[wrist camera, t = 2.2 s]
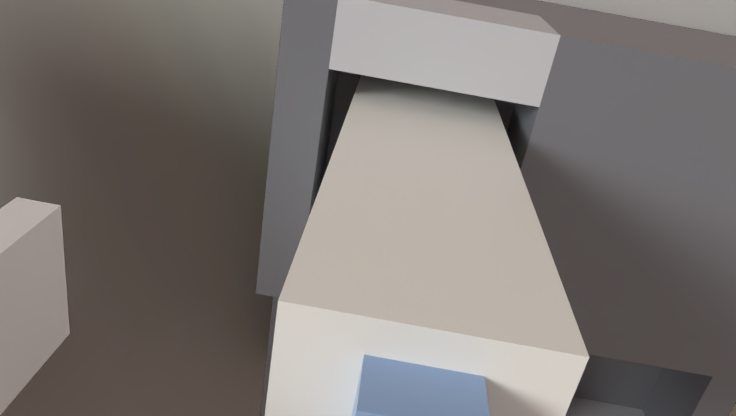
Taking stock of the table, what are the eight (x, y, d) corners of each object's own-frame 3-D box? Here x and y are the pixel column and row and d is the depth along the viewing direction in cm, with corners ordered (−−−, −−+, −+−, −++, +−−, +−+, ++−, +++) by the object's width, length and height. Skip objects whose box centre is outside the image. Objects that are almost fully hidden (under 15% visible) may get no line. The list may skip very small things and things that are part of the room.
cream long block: (343, 191, 20) (235, 572, 9) (362, 72, 19) (259, 351, 7) (462, 212, 20) (515, 623, 9) (492, 96, 19) (611, 416, 7)
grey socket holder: (276, 366, 29) (236, 493, 23) (326, -38, 21) (285, -15, 15) (652, 434, 29) (715, 580, 23) (845, 56, 21) (1025, 119, 15)
